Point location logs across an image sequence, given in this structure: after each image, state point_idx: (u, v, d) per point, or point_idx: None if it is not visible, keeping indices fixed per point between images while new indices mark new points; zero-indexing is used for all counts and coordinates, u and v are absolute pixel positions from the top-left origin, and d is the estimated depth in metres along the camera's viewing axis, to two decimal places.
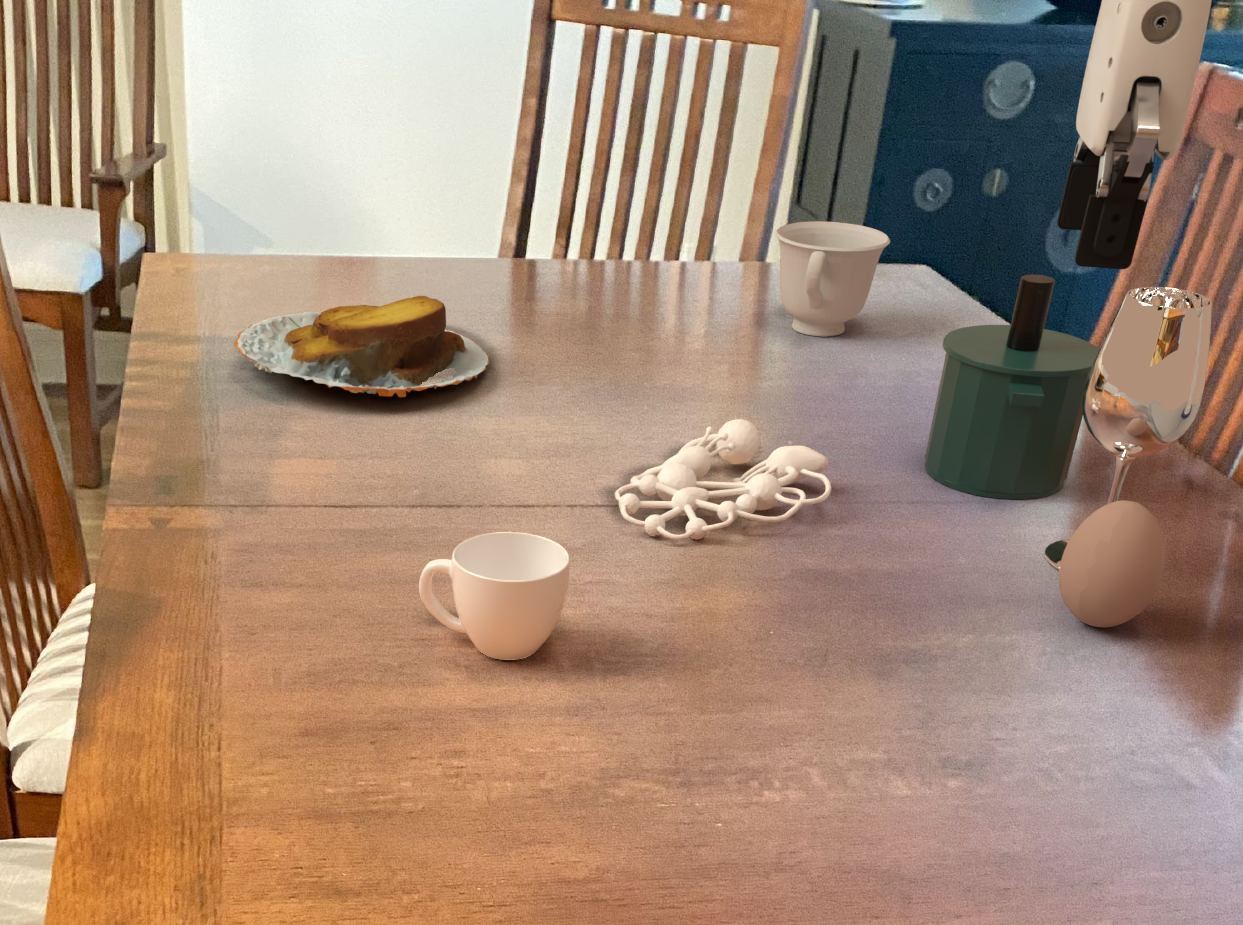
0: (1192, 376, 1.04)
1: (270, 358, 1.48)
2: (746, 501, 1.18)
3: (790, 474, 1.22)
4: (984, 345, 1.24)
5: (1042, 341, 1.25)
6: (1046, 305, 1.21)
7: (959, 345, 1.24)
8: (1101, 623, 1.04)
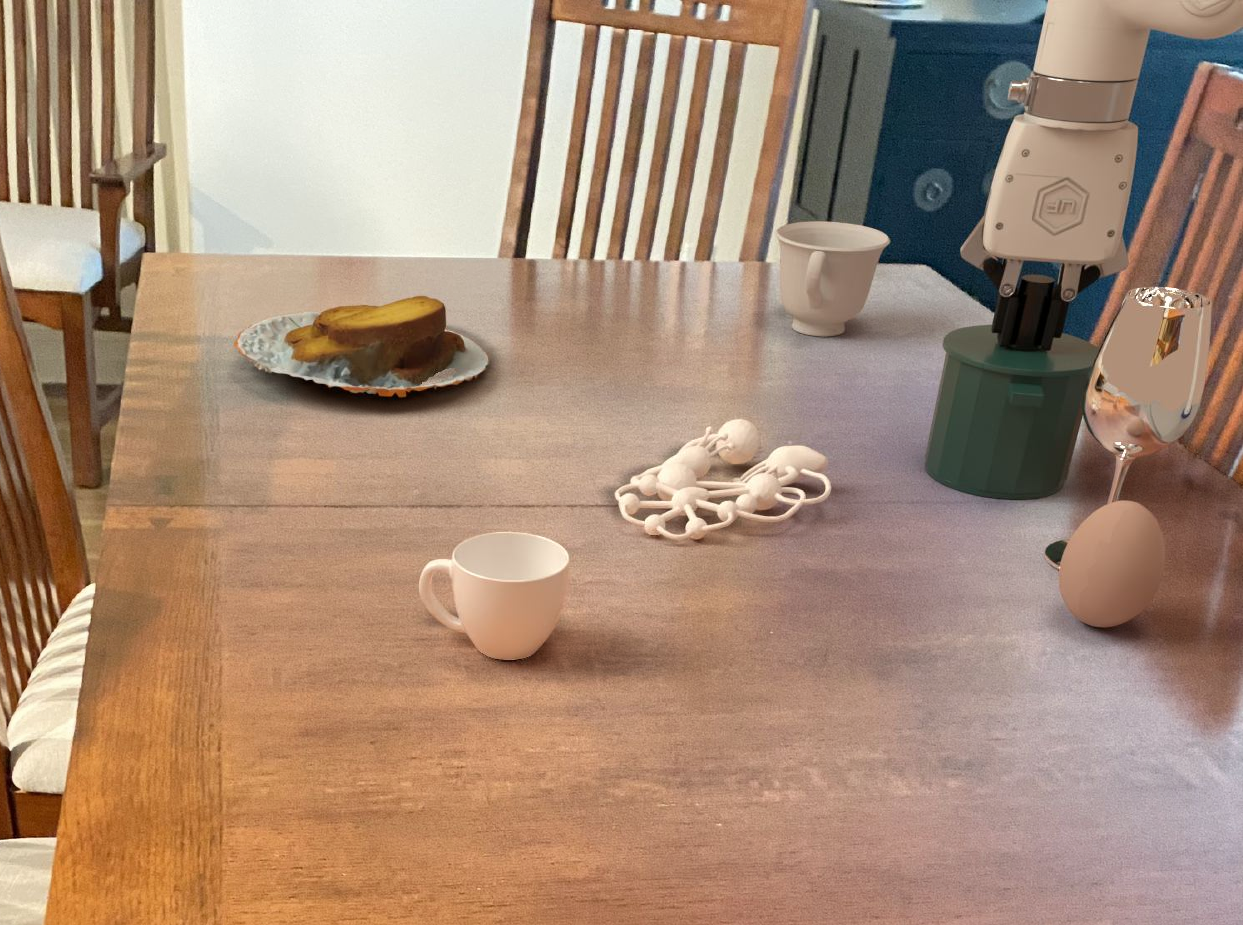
0: (1192, 376, 1.04)
1: (270, 358, 1.48)
2: (746, 501, 1.18)
3: (790, 474, 1.22)
4: (984, 345, 1.24)
5: None
6: (1046, 305, 1.21)
7: (959, 345, 1.24)
8: (1101, 623, 1.04)
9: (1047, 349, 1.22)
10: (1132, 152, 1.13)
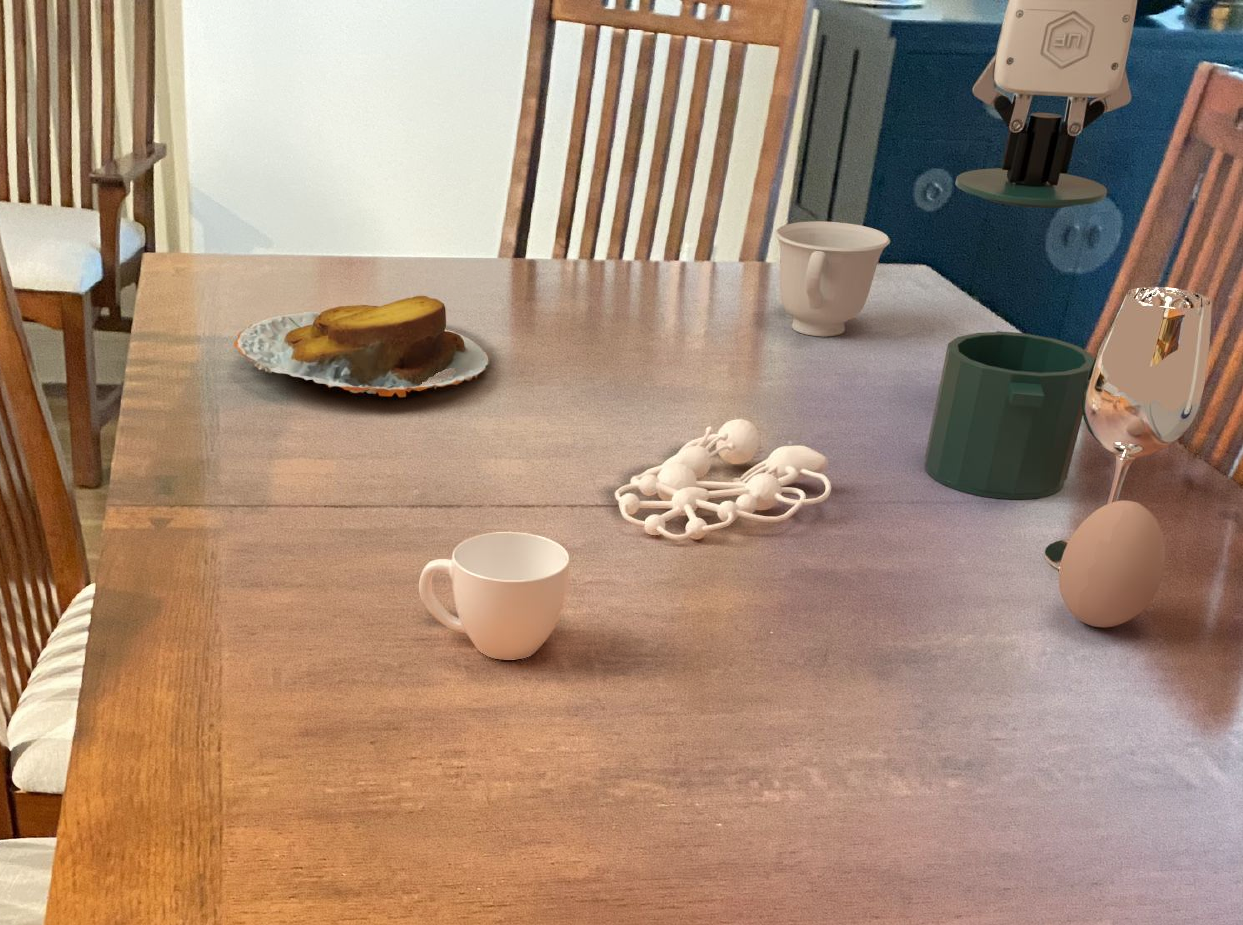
0: (1192, 376, 1.04)
1: (270, 358, 1.48)
2: (746, 501, 1.18)
3: (790, 474, 1.22)
4: (995, 182, 1.32)
5: None
6: (1053, 141, 1.29)
7: (971, 182, 1.32)
8: (1101, 623, 1.04)
9: (1054, 183, 1.30)
10: None
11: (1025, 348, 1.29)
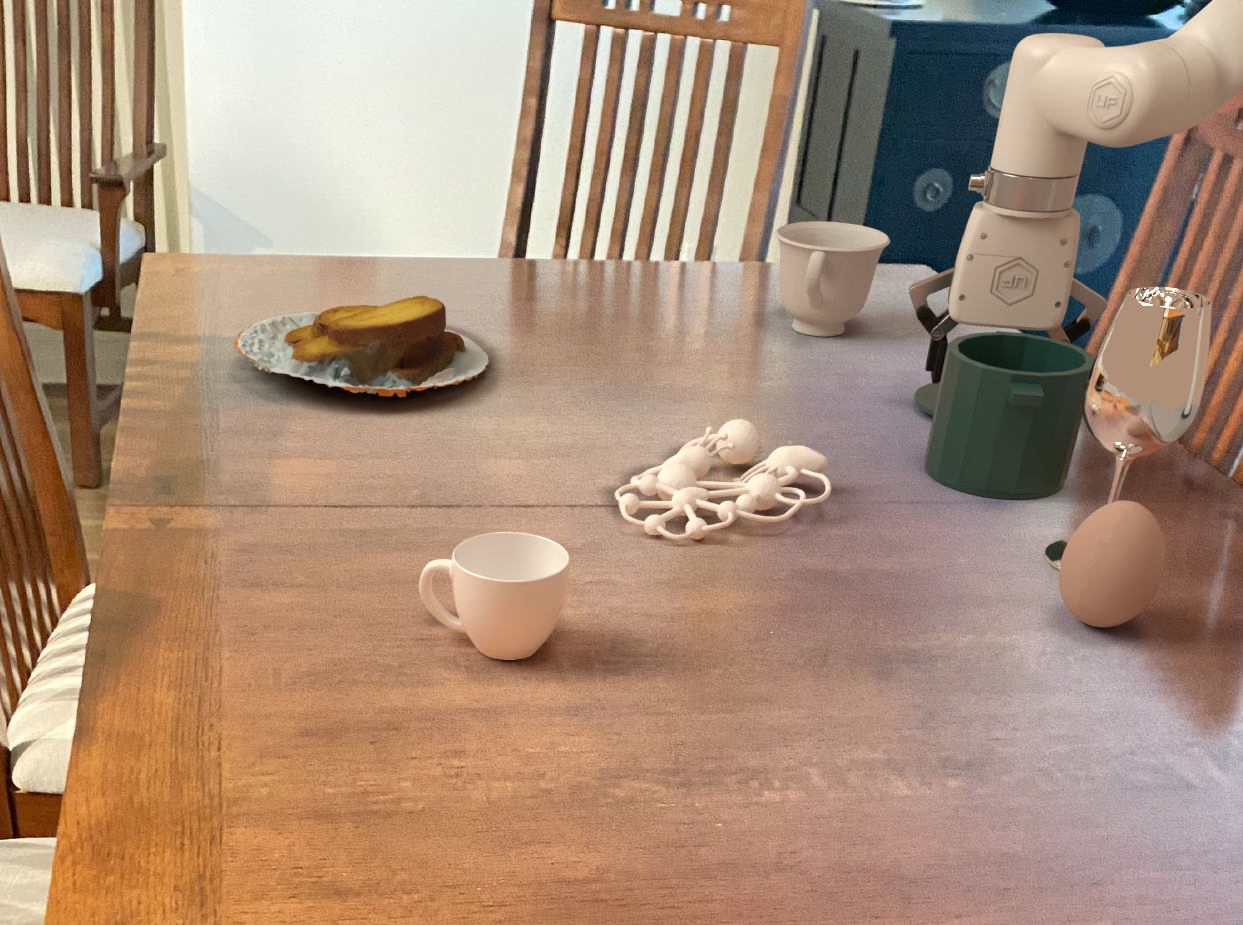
0: (1192, 376, 1.04)
1: (270, 358, 1.48)
2: (746, 501, 1.18)
3: (790, 474, 1.22)
4: None
5: None
6: None
7: (928, 400, 1.43)
8: (1101, 623, 1.04)
9: None
10: (1075, 236, 1.31)
11: (1025, 348, 1.29)
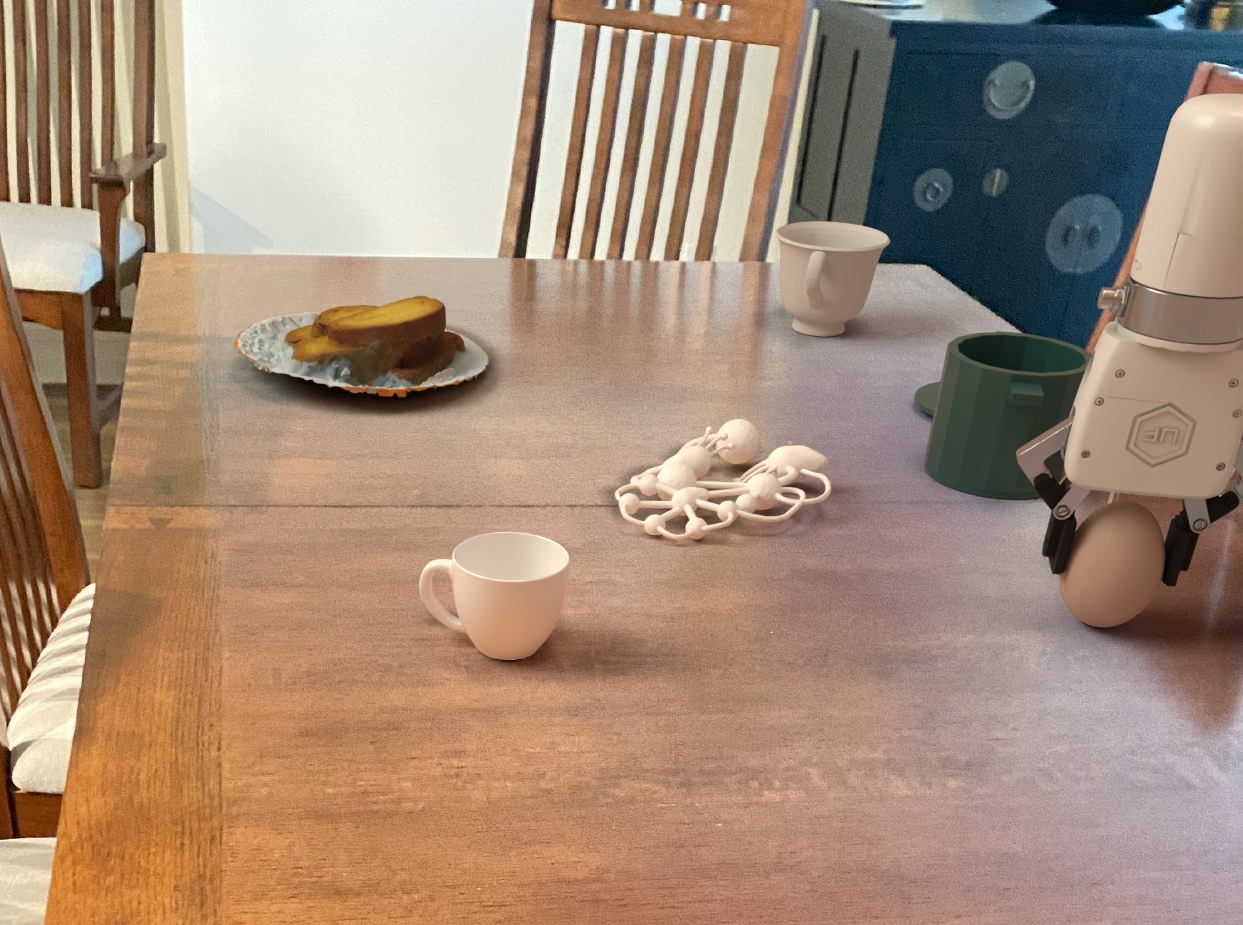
0: None
1: (270, 358, 1.48)
2: (746, 501, 1.18)
3: (790, 474, 1.22)
4: None
5: None
6: None
7: (928, 400, 1.43)
8: (1101, 623, 1.04)
9: (1171, 585, 1.02)
10: None
11: (1025, 348, 1.29)
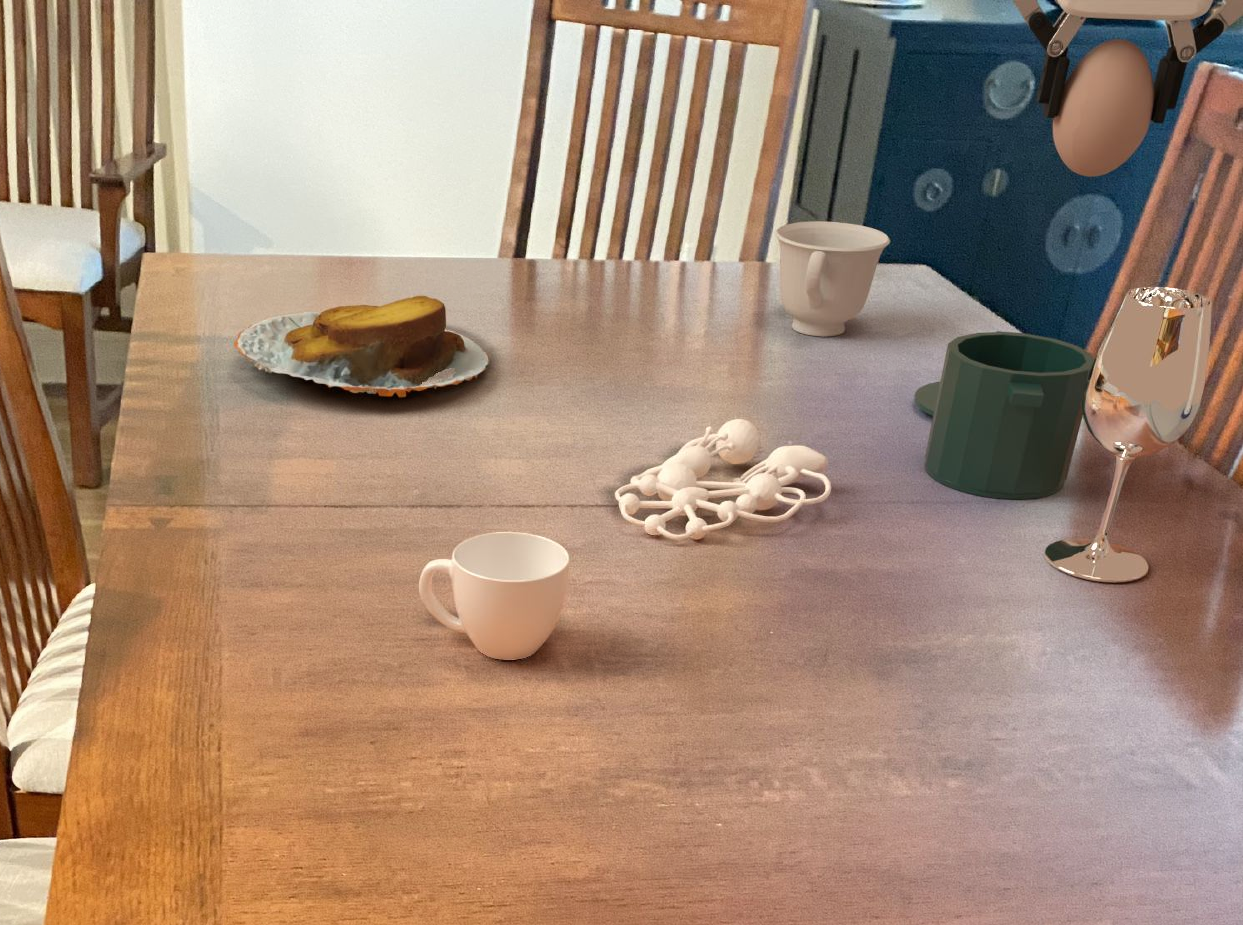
0: (1192, 376, 1.04)
1: (270, 358, 1.48)
2: (746, 501, 1.18)
3: (790, 474, 1.22)
4: None
5: None
6: None
7: (928, 400, 1.43)
8: (1093, 166, 1.09)
9: (1160, 121, 1.07)
10: None
11: (1025, 348, 1.29)
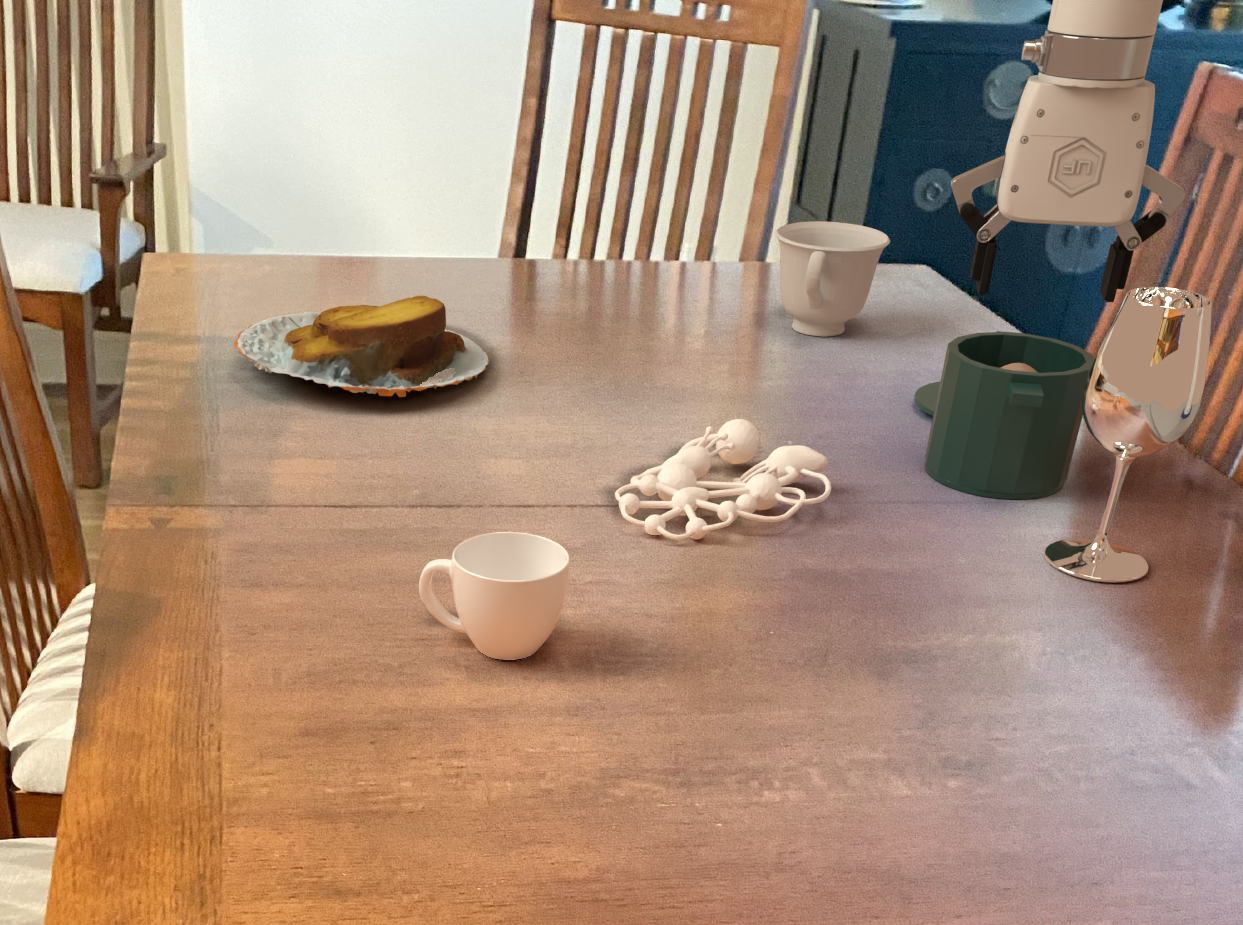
0: (1192, 376, 1.04)
1: (270, 358, 1.48)
2: (746, 501, 1.18)
3: (790, 474, 1.22)
4: None
5: None
6: None
7: (928, 400, 1.43)
8: None
9: (1110, 300, 1.19)
10: (1149, 110, 1.11)
11: (1025, 348, 1.29)
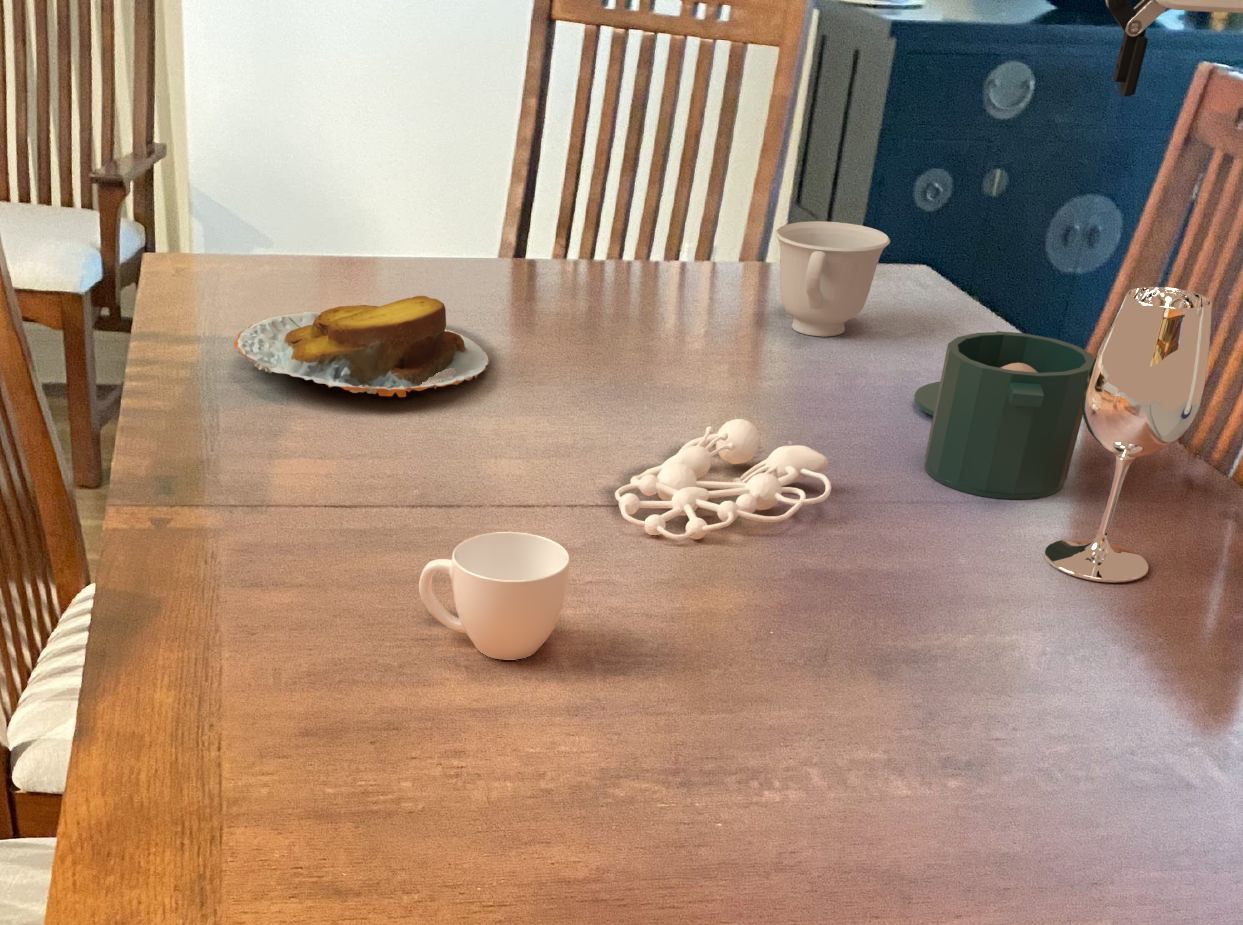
0: (1192, 376, 1.04)
1: (270, 358, 1.48)
2: (746, 501, 1.18)
3: (790, 474, 1.22)
4: None
5: None
6: None
7: (928, 400, 1.43)
8: None
9: None
10: None
11: (1025, 348, 1.29)
